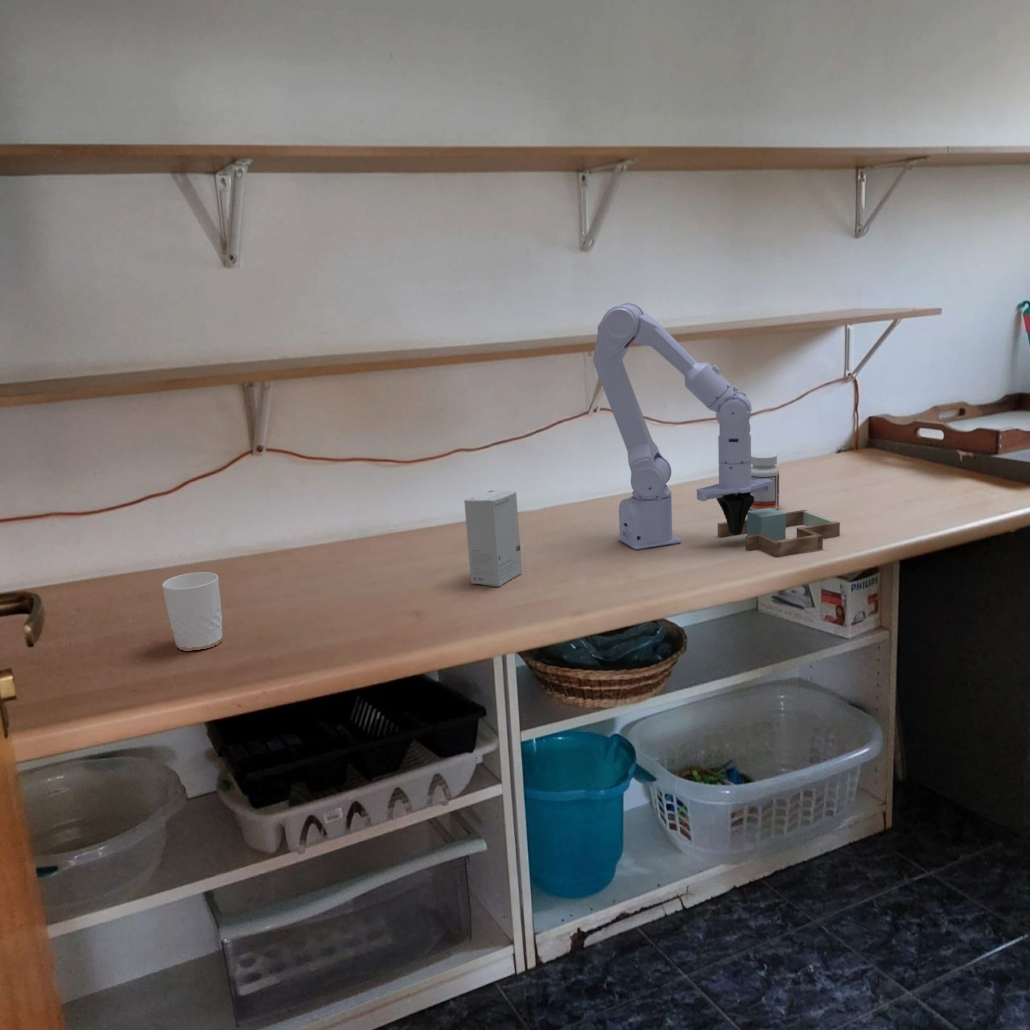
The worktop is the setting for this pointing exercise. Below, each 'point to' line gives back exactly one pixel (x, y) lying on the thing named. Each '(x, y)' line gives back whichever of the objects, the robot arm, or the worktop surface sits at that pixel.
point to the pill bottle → (765, 470)
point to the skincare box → (493, 537)
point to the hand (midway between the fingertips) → (735, 533)
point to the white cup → (194, 608)
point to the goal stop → (814, 519)
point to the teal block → (767, 523)
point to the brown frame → (805, 541)
